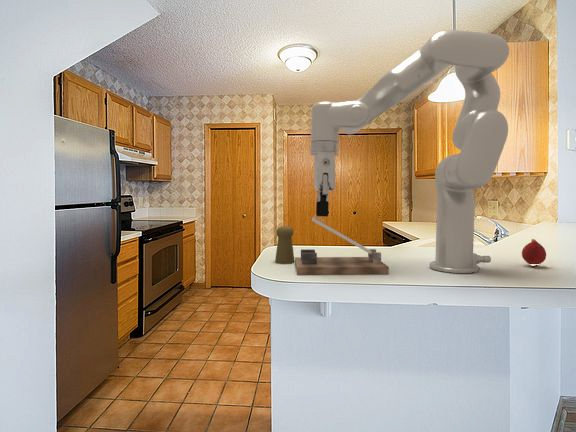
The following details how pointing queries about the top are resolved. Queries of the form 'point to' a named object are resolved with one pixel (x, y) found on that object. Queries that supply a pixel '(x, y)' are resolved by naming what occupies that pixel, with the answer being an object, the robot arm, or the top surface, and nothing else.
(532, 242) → the onion
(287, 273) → the top surface
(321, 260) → the board
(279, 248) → the pepper mill
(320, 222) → the hinged lever bar
